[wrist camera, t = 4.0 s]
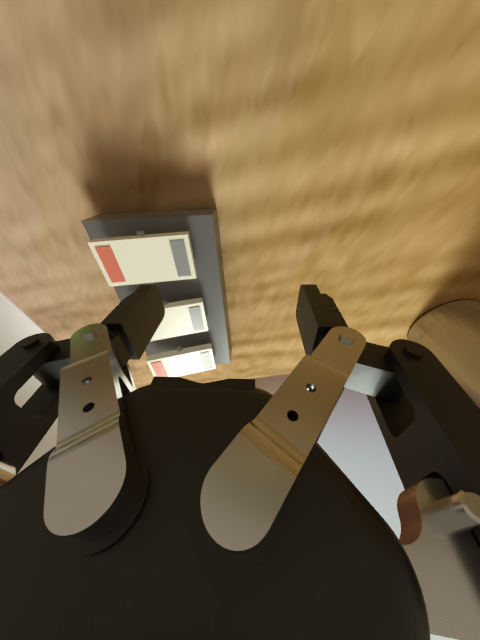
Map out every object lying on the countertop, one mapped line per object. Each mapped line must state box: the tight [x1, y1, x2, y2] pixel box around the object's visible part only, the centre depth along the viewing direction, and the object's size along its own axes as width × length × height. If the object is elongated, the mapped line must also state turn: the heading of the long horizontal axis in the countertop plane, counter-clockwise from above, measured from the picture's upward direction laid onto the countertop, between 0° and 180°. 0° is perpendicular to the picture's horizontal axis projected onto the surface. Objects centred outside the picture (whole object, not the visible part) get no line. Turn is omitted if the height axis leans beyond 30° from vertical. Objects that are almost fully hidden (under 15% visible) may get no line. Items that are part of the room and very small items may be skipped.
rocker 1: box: [88, 231, 197, 287], centre depth 18 cm, size 8×5×1 cm, turn 93°
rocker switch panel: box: [82, 208, 232, 364], centre depth 25 cm, size 12×20×3 cm, turn 3°
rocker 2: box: [151, 298, 208, 341], centre depth 23 cm, size 8×5×1 cm, turn 93°
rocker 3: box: [146, 343, 216, 377], centre depth 27 cm, size 8×5×1 cm, turn 93°
